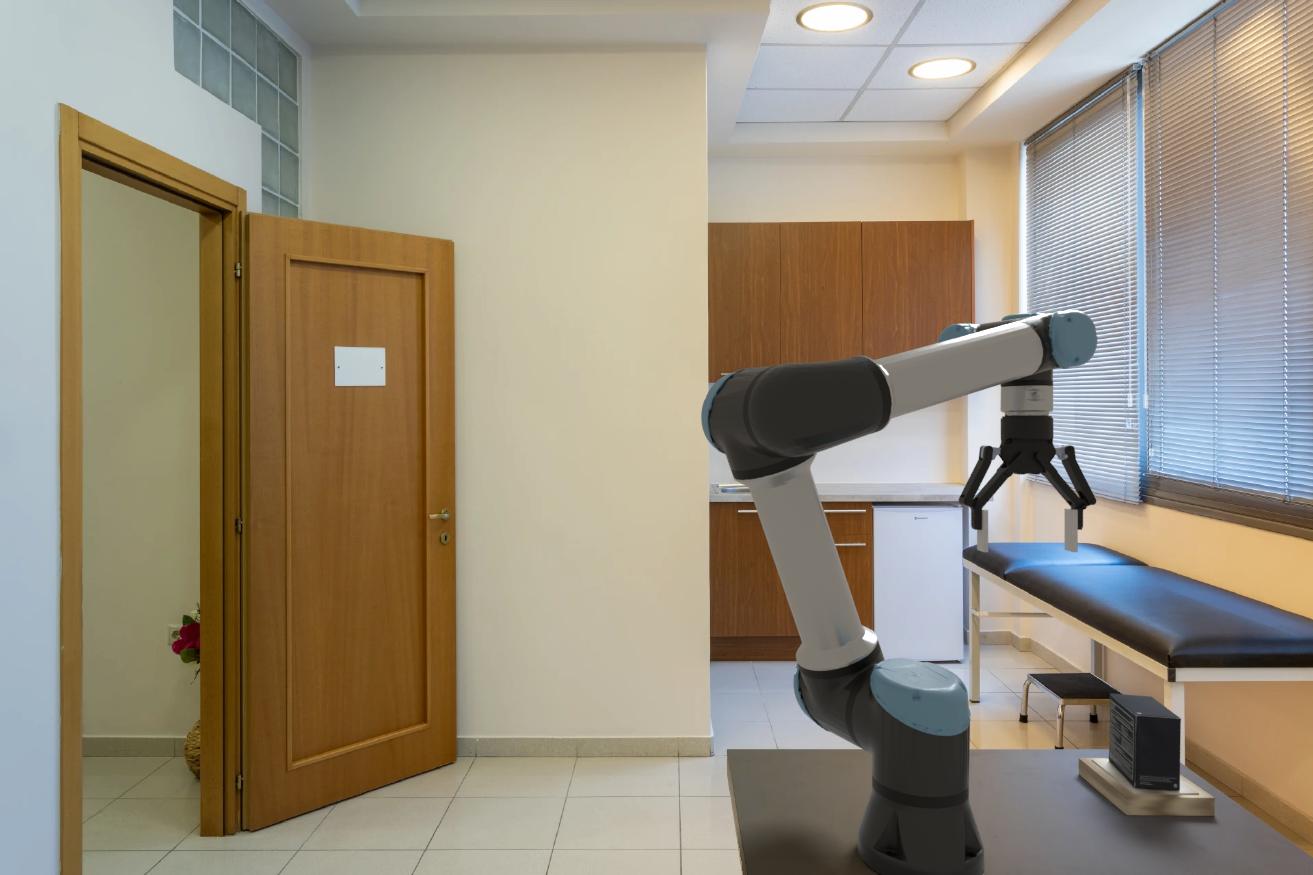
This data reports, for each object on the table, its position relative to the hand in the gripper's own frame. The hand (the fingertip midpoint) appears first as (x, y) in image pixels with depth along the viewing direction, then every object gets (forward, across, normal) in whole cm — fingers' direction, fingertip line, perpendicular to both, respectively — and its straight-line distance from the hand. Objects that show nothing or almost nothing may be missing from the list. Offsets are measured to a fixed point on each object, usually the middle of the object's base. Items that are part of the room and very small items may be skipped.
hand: (1026, 551), depth 130 cm
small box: (+32, +14, -7) cm, 36 cm away
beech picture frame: (+35, +14, -7) cm, 38 cm away
